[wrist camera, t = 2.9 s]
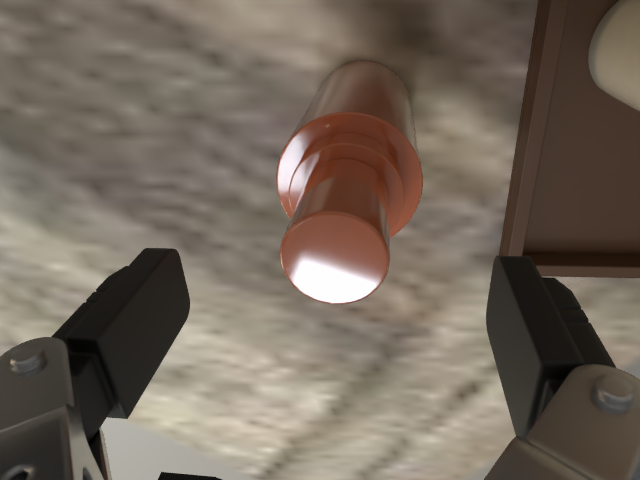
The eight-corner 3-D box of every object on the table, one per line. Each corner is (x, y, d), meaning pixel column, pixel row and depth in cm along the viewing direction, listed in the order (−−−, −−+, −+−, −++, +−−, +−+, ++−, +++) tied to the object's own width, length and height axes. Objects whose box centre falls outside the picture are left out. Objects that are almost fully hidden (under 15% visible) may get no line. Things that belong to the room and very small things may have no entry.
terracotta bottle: (312, 62, 25) (222, 168, 12) (412, 58, 25) (443, 165, 11) (318, 156, 28) (250, 333, 14) (408, 155, 27) (429, 341, 13)
